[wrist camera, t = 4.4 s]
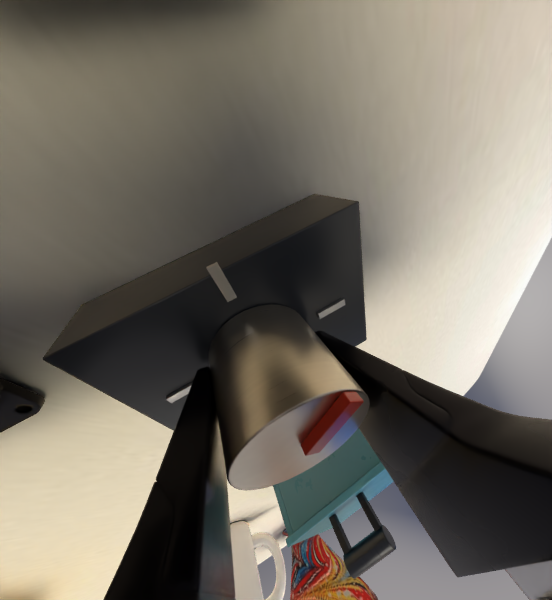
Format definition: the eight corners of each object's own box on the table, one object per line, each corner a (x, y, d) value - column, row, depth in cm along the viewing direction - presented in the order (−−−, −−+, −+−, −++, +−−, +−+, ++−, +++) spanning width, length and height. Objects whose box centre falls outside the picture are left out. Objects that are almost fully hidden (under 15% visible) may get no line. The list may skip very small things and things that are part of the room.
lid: (285, 539, 22) (307, 615, 18) (387, 456, 20) (435, 522, 16) (335, 519, 29) (358, 570, 26) (413, 457, 27) (450, 503, 24)
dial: (278, 383, 11) (324, 480, 7) (192, 382, 8) (202, 524, 5) (322, 315, 9) (403, 397, 6) (234, 291, 7) (285, 405, 4)
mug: (273, 500, 31) (305, 614, 23) (267, 518, 35) (294, 620, 27) (189, 543, 27) (193, 704, 19) (194, 557, 31) (199, 694, 23)
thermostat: (195, 395, 13) (198, 447, 11) (73, 299, 8) (25, 357, 5) (336, 315, 14) (369, 344, 12) (313, 186, 9) (362, 192, 7)
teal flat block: (271, 480, 26) (288, 537, 22) (353, 408, 25) (388, 456, 20) (315, 476, 34) (335, 519, 29) (382, 420, 32) (412, 457, 28)
